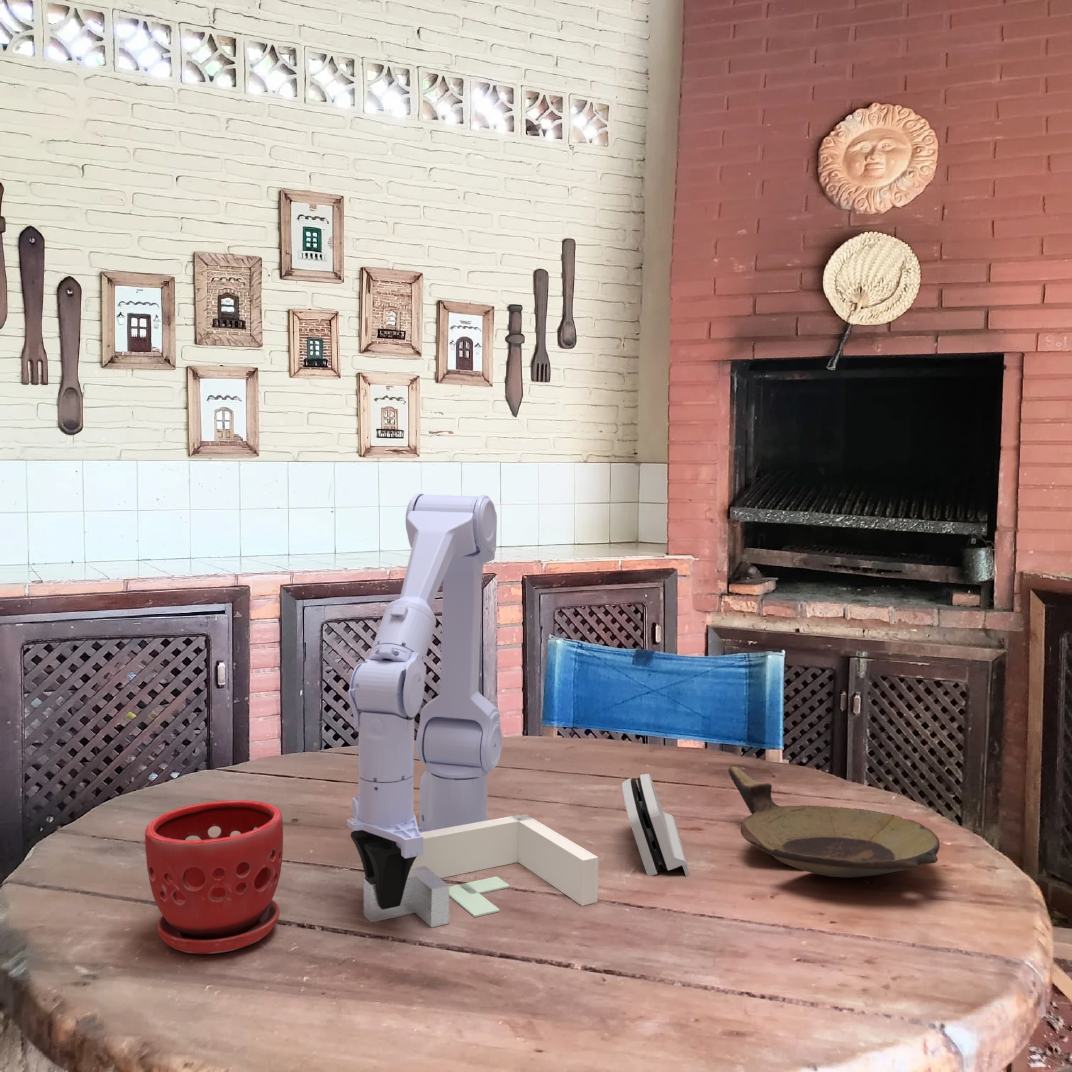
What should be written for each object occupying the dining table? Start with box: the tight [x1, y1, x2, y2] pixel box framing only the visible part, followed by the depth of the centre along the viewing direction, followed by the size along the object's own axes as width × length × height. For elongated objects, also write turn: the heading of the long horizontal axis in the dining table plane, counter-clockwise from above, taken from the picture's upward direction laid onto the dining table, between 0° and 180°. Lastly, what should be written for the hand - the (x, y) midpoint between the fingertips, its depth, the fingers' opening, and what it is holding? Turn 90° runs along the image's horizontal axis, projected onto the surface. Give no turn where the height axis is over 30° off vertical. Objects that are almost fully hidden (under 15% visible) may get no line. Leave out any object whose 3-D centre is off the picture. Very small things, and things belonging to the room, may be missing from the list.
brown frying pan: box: [727, 765, 941, 879], centre depth 125 cm, size 22×30×8 cm
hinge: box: [621, 773, 691, 877], centre depth 127 cm, size 17×5×10 cm, turn 177°
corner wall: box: [411, 813, 599, 907], centre depth 113 cm, size 16×18×5 cm
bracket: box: [363, 866, 450, 928], centre depth 106 cm, size 7×6×4 cm
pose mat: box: [449, 876, 511, 918], centre depth 112 cm, size 8×7×1 cm
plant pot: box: [144, 799, 284, 955], centre depth 102 cm, size 13×13×12 cm
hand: (385, 901), depth 107 cm, fingers closed on bracket, 2 cm apart
